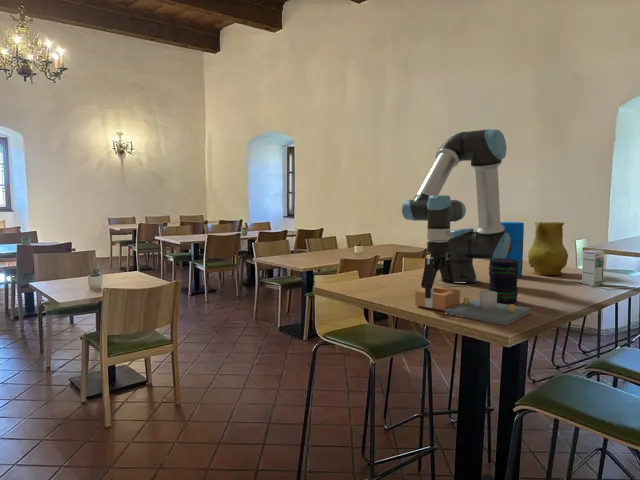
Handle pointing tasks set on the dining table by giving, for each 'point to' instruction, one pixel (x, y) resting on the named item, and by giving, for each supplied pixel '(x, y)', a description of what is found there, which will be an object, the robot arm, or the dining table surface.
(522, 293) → the dining table surface
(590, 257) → the syrup box
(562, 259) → the yellow rounded vessel
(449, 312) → the post board
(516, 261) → the storage jar
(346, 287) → the dining table surface
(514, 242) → the thermos
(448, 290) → the square frame
